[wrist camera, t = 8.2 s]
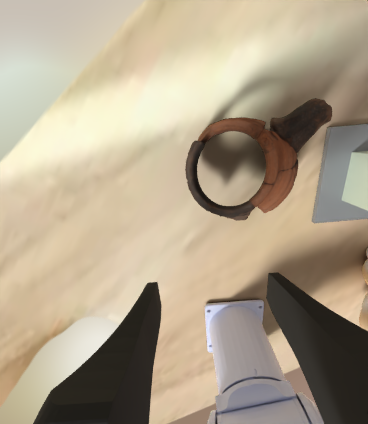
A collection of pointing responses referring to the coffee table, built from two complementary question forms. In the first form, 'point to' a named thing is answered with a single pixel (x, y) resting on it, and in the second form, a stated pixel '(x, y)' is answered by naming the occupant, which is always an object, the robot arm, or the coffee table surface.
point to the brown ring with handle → (273, 150)
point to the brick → (357, 181)
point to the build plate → (338, 174)
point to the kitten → (367, 311)
